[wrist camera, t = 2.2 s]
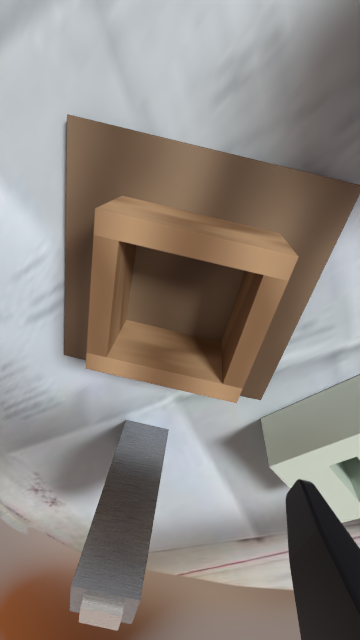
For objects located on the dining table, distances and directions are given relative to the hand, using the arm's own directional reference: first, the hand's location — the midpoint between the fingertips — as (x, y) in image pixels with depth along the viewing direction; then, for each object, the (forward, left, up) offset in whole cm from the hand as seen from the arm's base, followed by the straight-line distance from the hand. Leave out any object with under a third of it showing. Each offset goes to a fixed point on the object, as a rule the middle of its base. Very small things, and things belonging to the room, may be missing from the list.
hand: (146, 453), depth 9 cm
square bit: (-10, +13, -13) cm, 21 cm away
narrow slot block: (-18, -2, -13) cm, 22 cm away
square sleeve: (0, 0, -13) cm, 13 cm away
